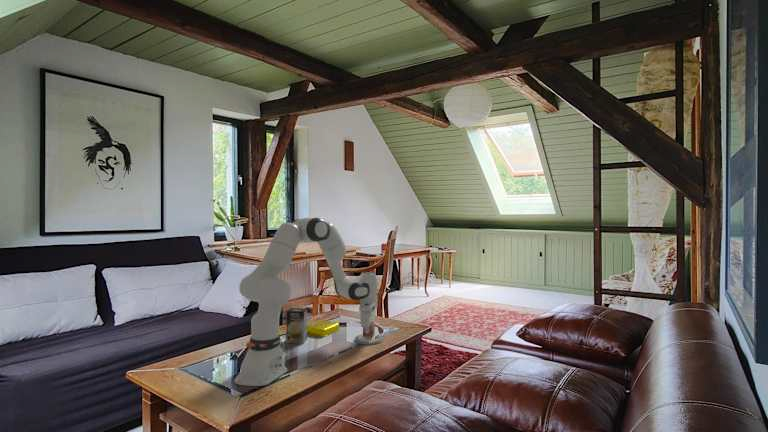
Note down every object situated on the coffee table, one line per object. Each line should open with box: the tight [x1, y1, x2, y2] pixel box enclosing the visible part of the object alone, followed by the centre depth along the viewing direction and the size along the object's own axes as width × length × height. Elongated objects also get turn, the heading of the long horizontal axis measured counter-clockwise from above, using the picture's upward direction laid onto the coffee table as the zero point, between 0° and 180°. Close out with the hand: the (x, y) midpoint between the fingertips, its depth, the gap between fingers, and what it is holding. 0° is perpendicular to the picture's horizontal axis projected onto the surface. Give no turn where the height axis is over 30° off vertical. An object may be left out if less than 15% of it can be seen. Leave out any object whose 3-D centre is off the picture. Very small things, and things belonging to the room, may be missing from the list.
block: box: [362, 321, 376, 337], centre depth 212 cm, size 5×5×6 cm
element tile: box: [307, 318, 340, 338], centre depth 226 cm, size 15×15×5 cm
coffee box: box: [285, 307, 308, 345], centre depth 209 cm, size 9×6×16 cm
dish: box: [354, 333, 384, 346], centre depth 212 cm, size 14×14×1 cm
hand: (368, 331), depth 212 cm, fingers closed on block, 5 cm apart
